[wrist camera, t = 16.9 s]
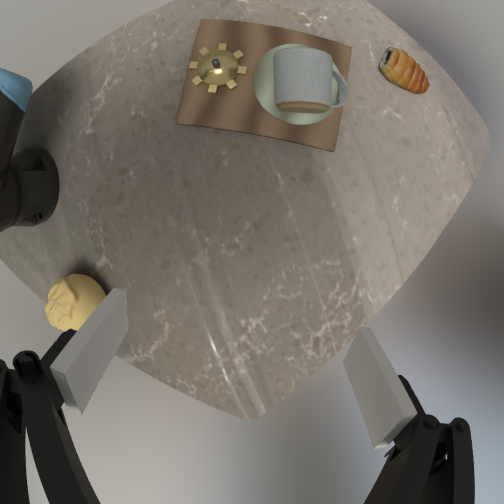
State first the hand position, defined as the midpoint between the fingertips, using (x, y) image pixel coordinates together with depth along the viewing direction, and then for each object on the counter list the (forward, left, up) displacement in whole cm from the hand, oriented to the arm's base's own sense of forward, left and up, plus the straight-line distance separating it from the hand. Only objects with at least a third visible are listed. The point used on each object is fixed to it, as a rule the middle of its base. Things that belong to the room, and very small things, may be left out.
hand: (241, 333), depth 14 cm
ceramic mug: (+5, +20, -27) cm, 34 cm away
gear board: (-1, +21, -29) cm, 36 cm away
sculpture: (-28, -20, -29) cm, 45 cm away
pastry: (+20, +30, -29) cm, 46 cm away
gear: (-8, +21, -27) cm, 35 cm away
